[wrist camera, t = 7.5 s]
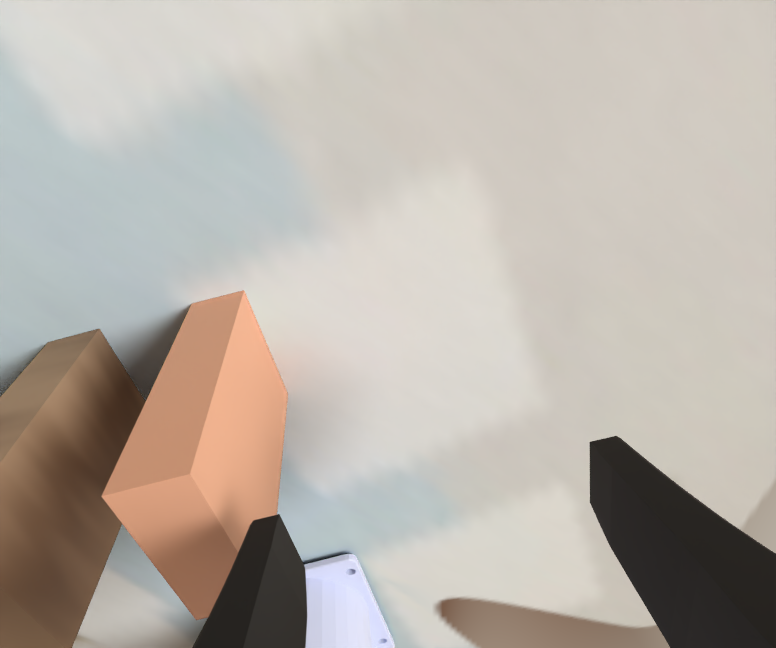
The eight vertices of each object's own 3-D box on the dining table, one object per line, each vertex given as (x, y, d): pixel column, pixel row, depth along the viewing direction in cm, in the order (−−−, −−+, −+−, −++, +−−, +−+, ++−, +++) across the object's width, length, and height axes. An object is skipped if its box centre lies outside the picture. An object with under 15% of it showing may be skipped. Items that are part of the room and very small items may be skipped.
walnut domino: (161, 427, 22) (70, 651, 14) (115, 438, 22) (-1, 669, 14) (99, 328, 19) (-55, 537, 11) (47, 342, 19) (-141, 558, 11)
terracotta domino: (288, 394, 21) (268, 602, 14) (241, 406, 21) (196, 619, 14) (244, 290, 19) (189, 474, 11) (191, 304, 19) (101, 496, 11)
